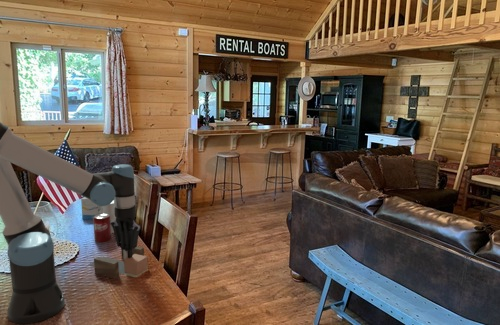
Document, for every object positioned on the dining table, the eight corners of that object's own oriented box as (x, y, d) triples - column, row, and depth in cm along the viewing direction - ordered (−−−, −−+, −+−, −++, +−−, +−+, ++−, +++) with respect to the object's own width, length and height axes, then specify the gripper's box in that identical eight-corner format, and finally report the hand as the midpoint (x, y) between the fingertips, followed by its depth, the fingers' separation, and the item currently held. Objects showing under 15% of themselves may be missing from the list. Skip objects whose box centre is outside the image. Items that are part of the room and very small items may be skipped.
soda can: (105, 244, 164) (104, 219, 162) (91, 243, 166) (89, 218, 164) (114, 238, 171) (113, 214, 169) (100, 237, 173) (99, 213, 171)
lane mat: (135, 277, 135) (135, 277, 135) (87, 265, 144) (87, 264, 144) (149, 268, 142) (149, 268, 142) (103, 257, 151) (103, 256, 151)
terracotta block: (137, 275, 136) (136, 262, 135) (124, 272, 138) (123, 259, 138) (147, 268, 141) (147, 256, 141) (135, 265, 144) (134, 253, 143)
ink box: (97, 219, 197) (96, 198, 195) (82, 219, 198) (80, 198, 195) (104, 214, 206) (102, 194, 204) (89, 214, 206) (87, 194, 204)
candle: (120, 231, 180) (118, 202, 177) (105, 234, 176) (103, 204, 173) (116, 227, 186) (115, 199, 183) (102, 230, 182) (100, 201, 179)
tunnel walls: (115, 279, 133) (114, 263, 132) (94, 273, 137) (93, 258, 136) (144, 261, 148) (143, 247, 147) (125, 257, 152) (124, 243, 151)
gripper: (145, 205, 137) (147, 264, 142) (118, 201, 143) (121, 257, 147) (131, 211, 131) (134, 272, 135) (104, 206, 136) (107, 265, 140)
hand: (127, 264), depth 141 cm, fingers closed
